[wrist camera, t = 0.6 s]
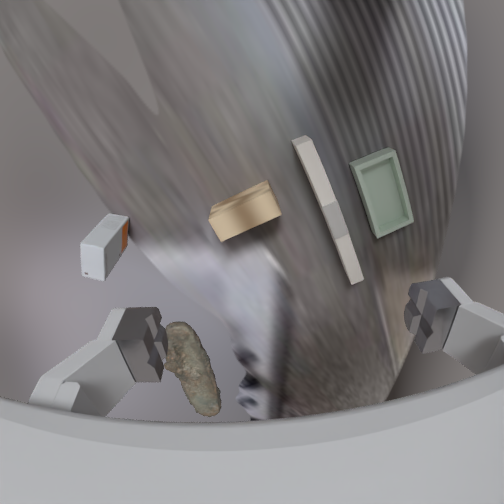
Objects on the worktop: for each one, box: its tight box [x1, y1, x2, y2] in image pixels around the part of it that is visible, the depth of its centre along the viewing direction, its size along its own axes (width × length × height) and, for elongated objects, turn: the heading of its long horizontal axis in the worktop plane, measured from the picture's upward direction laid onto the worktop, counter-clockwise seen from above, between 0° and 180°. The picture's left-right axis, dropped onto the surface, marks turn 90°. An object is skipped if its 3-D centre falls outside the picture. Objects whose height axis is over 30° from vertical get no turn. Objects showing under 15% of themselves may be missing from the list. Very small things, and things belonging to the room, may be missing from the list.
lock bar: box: [209, 180, 282, 242], centre depth 49 cm, size 10×4×6 cm, turn 116°
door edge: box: [291, 135, 364, 285], centre depth 50 cm, size 26×2×5 cm, turn 26°
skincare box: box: [80, 213, 129, 281], centre depth 48 cm, size 6×4×12 cm
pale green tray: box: [349, 147, 414, 238], centre depth 49 cm, size 14×8×3 cm, turn 26°
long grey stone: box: [164, 322, 221, 417], centre depth 70 cm, size 35×5×10 cm
